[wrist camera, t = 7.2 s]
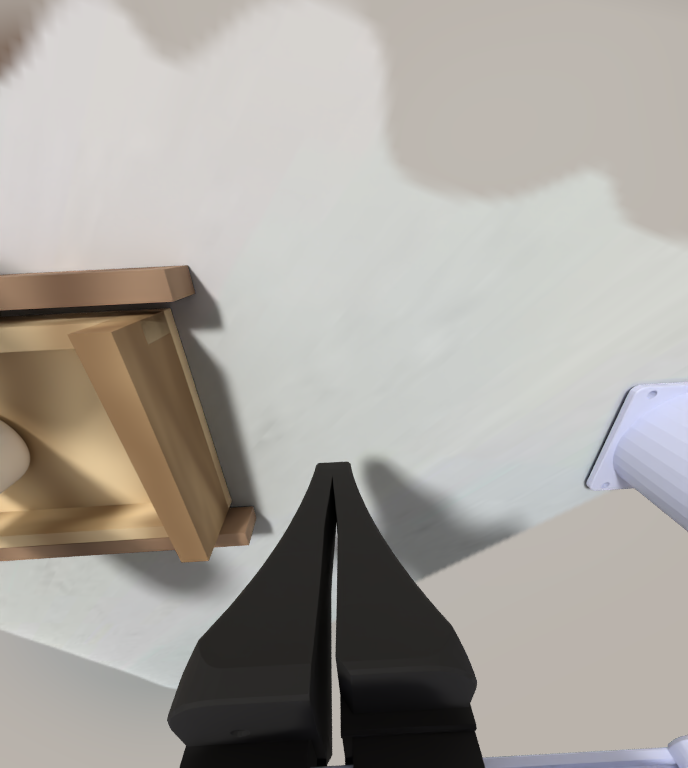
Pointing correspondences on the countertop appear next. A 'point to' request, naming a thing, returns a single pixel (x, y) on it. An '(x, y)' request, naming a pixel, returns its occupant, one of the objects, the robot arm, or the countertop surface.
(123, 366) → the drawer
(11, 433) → the drinking glass
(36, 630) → the countertop surface
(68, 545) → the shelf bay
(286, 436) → the countertop surface
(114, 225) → the countertop surface
